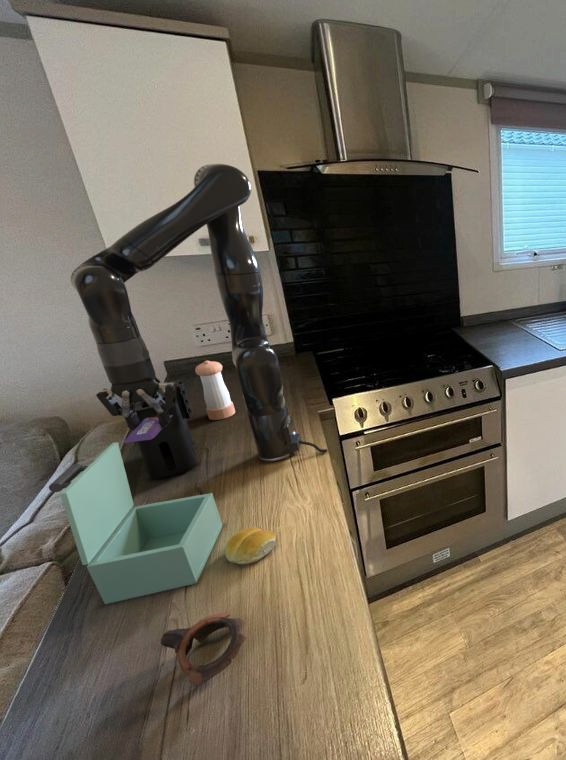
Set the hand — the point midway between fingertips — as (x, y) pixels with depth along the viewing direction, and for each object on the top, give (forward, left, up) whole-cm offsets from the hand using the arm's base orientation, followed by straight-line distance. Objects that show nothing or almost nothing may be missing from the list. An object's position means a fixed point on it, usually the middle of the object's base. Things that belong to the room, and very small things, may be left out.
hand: (151, 427), depth 100 cm
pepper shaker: (+2, -44, -19) cm, 48 cm away
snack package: (0, +1, -1) cm, 1 cm away
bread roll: (-22, +25, -19) cm, 39 cm away
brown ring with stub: (-21, +48, -19) cm, 56 cm away
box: (-7, +23, -19) cm, 31 cm away
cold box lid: (-1, +23, -2) cm, 23 cm away
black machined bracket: (+6, -19, -19) cm, 27 cm away
